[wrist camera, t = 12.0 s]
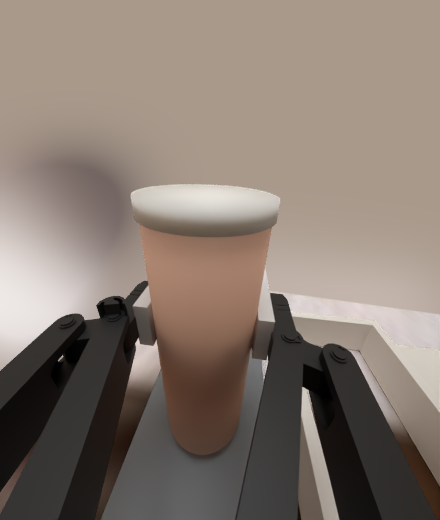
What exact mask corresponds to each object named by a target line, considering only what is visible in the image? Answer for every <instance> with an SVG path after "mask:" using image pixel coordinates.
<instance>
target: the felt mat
mask: <svg viewBox="0 0 440 520" xmlns="http://www.w3.org/2000/svg"><path fill="white" fill-rule="evenodd" d="M262 389H263V373H262V361H261V360H260V359H253V358H252V349H251V353H250V359H249V365H248V371H247V377H246V383H245V389H244V395H243V401H242V407H241V413H240V418H239V424H238V427H237V430H236V432H235V434H234V436H233V437H232V439H231V440H230V441H229V443H228V444H227V445H226V446H225V447H223V448H222V449H220V450H219V451H217V452H215V453H212V454H208V455H197V454H193V453H191V452H188V451H187V450H185V449H184V448H182V447H181V446H180V445H179V444H178V443H177V441H176V440H175V438H174V436H173V434H172V432H171V429H170V425H169V419H168V412H167V405H166V398H165V392H164V385H163V378H162V372H161V370H160V373H159V375H158V378H157V380H156V383H155V385H154V388H153V390H152V393H151V395H150V398H149V400H148V403H147V405H146V408H145V410H144V413H143V415H142V418H141V420H140V423H139V425H138V428H137V430H136V433H135V435H134V438H133V440H132V443H131V445H130V448H129V450H128V453H127V455H126V458H125V460H124V463H123V465H122V468H121V470H120V473H119V475H118V478H117V480H116V483H115V485H114V488H113V490H112V493H111V495H110V498H109V500H108V503H107V505H106V508H105V510H104V513H103V515H102V518H101V520H235V517H236V512H237V507H238V503H239V498H240V493H241V488H242V484H243V479H244V474H245V470H246V465H247V460H248V455H249V451H250V446H251V441H252V437H253V432H254V427H255V422H256V418H257V413H258V408H259V404H260V399H261V394H262Z"/></svg>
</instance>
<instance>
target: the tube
mask: <svg viewBox="0 0 440 520" xmlns="http://www.w3.org/2000/svg"><path fill="white" fill-rule="evenodd" d="M131 201H132V208H133V213H134V218H135V220H136V221H137V222H138V223H139V225H140V231H141V238H142V245H143V251H144V258H145V265H146V271H147V278H148V285H149V291H150V298H151V305H152V312H153V318H154V325H155V332H156V338H157V345H158V352H159V358H160V365H161V372H162V378H163V385H164V392H165V398H166V405H167V412H168V419H169V425H170V429H171V432H172V434H173V436H174V438H175V440H176V441H177V443H178V444H179V445H180V446H181V447H182V448H184V449H185V450H187V451H188V452H191V453H193V454H197V455H208V454H212V453H215V452H217V451H219V450H220V449H222V448H223V447H225V446H226V445H227V444H228V443H229V441H230V440H231V439H232V437H233V436H234V434H235V432H236V430H237V427H238V424H239V418H240V413H241V407H242V401H243V395H244V389H245V383H246V377H247V371H248V365H249V359H250V353H251V347H252V341H253V335H254V329H255V323H256V317H257V311H258V306H259V300H260V294H261V288H262V282H263V276H264V270H265V264H266V258H267V252H268V246H269V240H270V235H271V229H272V226H274V225H275V224H276V222H277V216H278V211H279V205H280V198H279V197H278V196H276V195H274V194H272V193H269V192H265V191H261V190H256V189H250V188H244V187H236V186H225V185H208V184H175V185H161V186H152V187H146V188H142V189H138V190H135V191H133V192H132V193H131Z"/></svg>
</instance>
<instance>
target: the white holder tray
mask: <svg viewBox="0 0 440 520" xmlns="http://www.w3.org/2000/svg"><path fill="white" fill-rule="evenodd" d="M290 312H291V314H292V318H293V321H294V324H295V328H296V331H297V332H299V333H300V334H301V336H302V337H303V339H304V340H305V341H307V342H309V343H311V344H313V345H317V346H324V345H326V344H328V343H334V344H337V345H340V346H342V347H344V348H346V349H350V350H358V351H360V353H361V354H362V356H363V358H364V360H365V361H366V363H367V365H368V366H369V368H370V370H371V371H372V373H373V375H374V376H375V378H376V380H377V381H378V383H379V385H380V387H381V388H382V390H383V392H384V393H385V395H386V397H387V398H388V400H389V402H390V403H391V405H392V407H393V408H394V410H395V412H396V414H397V415H398V417H399V419H400V420H401V422H402V424H403V425H404V427H405V429H406V430H407V432H408V434H409V436H410V437H411V439H412V441H413V442H414V444H415V446H416V447H417V449H418V451H419V452H420V454H421V456H422V457H423V459H424V461H425V463H426V464H427V466H428V468H429V469H430V471H431V473H432V474H433V476H434V478H435V479H436V481H437V483H438V484H439V486H440V350H439V349H430V348H422V347H413V346H404V345H396V344H395V343H394V342H393V340H392V339H391V338H390V337H389V336H388V334H387V333H386V332H385V331H384V329H383V328H382V327H381V326H380V324H379V323H378V322H377V321H375V320H366V319H357V318H347V317H338V316H329V315H320V314H310V313H301V312H292V311H290ZM298 503H299V509H300V516H301V520H339V516H338V512H337V508H336V504H335V499H334V495H333V491H332V487H331V483H330V478H329V474H328V470H327V467H326V463H325V459H324V455H323V451H322V448H321V444H320V440H319V436H318V432H317V429H316V425H315V421H314V417H313V413H312V410H311V406H310V402H309V398H308V394H307V391H306V388H304V387H302V409H301V436H300V462H299V488H298Z"/></svg>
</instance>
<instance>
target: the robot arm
mask: <svg viewBox="0 0 440 520" xmlns="http://www.w3.org/2000/svg"><path fill="white" fill-rule="evenodd" d="M96 306H97V309H98V312H99V315H100V318H99V319H93V320H84V317H83V316H82V315H80V314H69V315H66V316H64V317H61V318H60V319H58V320H57V321H55V322H54V323H53V324H52V325H51V326H50V327H48V328H47V329H46V330H45V331H44V332H43V333H42V334H41V335H40V336H38V337H37V338H36V339H35V340H34V341H33V342H32V343H31V344H30V345H28V346H27V347H26V348H25V349H24V350H23V351H22V352H21V353H20V354H18V355H17V356H16V357H15V358H14V359H13V360H12V361H11V362H10V363H9V364H7V365H6V366H5V367H4V368H3V369H2V370H1V371H0V492H1V490H2V489H3V487H4V486H5V485H6V483H7V482H8V480H9V479H10V478H11V476H12V475H13V473H14V472H15V471H16V469H17V468H18V466H19V465H20V463H21V462H22V461H23V459H24V458H25V456H26V455H27V454H28V452H29V451H30V449H31V448H32V447H33V445H34V444H35V442H36V441H37V439H38V438H39V437H40V438H39V440H38V442H37V444H36V446H35V448H34V449H33V451H32V453H31V455H30V457H29V459H28V461H27V463H26V465H25V467H24V469H23V471H22V473H21V475H20V477H19V479H18V481H17V483H16V485H15V487H14V489H13V491H12V493H11V495H10V497H9V499H8V501H7V503H6V505H5V507H4V509H3V510H2V512H1V514H0V520H95V516H96V512H97V508H98V504H99V500H100V495H101V491H102V487H103V483H104V479H105V475H106V471H107V467H108V462H109V458H110V454H111V450H112V446H113V442H114V438H115V434H116V429H117V425H118V421H119V417H120V413H121V409H122V405H123V401H124V396H125V392H126V388H127V384H128V380H129V376H130V372H131V368H132V363H133V359H134V355H135V351H136V346H135V343H136V341H137V339H138V338H139V340H140V344H144V345H151V346H153V345H154V343H155V341H156V339H157V338H156V332H155V325H154V318H153V312H152V305H151V298H150V291H149V285H148V281H143V282H141V283H140V284H138V285H137V286H136V287H135V288H134V290H133V291H132V292H131V293H130V295H129V296H128V297H127V298H126V299H124V298H123V297H120V296H112V297H108V298H105V299H103V300H102V301H100V302H99V303H98V304H97V305H96ZM62 355H63V356H64V357H63V358H62V359H61V360H60V361H59V362H58V360H59V358H60V357H61V356H62ZM267 355H268V361H269V362H268V366H267V370H266V375H265V380H264V385H263V389H262V394H261V399H260V404H259V408H258V413H257V418H256V422H255V427H254V432H253V437H252V441H251V446H250V451H249V455H248V460H247V465H246V470H245V474H244V479H243V484H242V488H241V493H240V498H239V503H238V507H237V512H236V517H235V520H297V514H298V488H299V462H300V436H301V409H302V387H304V388H306V389H308V390H309V394H310V398H311V402H312V407H313V411H314V415H315V419H316V423H317V428H318V432H319V436H320V440H321V445H322V449H323V453H324V457H325V461H326V466H327V470H328V474H329V478H330V483H331V487H332V491H333V495H334V499H335V504H336V508H337V512H338V516H339V520H437V519H436V517H435V515H434V513H433V511H432V509H431V507H430V505H429V503H428V501H427V499H426V497H425V495H424V493H423V491H422V489H421V488H420V486H419V484H418V482H417V480H416V478H415V476H414V474H413V472H412V470H411V468H410V466H409V464H408V462H407V460H406V458H405V456H404V454H403V452H402V450H401V448H400V446H399V444H398V442H397V440H396V438H395V436H394V434H393V432H392V430H391V428H390V426H389V424H388V422H387V420H386V418H385V417H384V415H383V413H382V411H381V409H380V407H379V405H378V403H377V401H376V399H375V397H374V395H373V393H372V391H371V389H370V387H369V385H368V383H367V381H366V379H365V377H364V375H363V373H362V371H361V369H360V367H359V365H358V363H357V361H356V359H355V358H354V356H353V355H352V353H351V352H349V351H348V350H347V349H346V348H344V347H342V346H340V345H337V344H334V343H328V344H326V345H324V347H323V348H321V347H318V346H316V345H313V344H311V343H309V342H307V341H305V340H304V339H303V337H302V336H301V334H300V333H299V332H297V331H296V328H295V324H294V321H293V318H292V314H291V312H290V307H289V304H288V301H287V299H286V298H285V297H284V296H283V294H274V293H270V292H269V286H268V281H267V275H266V270H264V276H263V282H262V288H261V294H260V300H259V306H258V311H257V317H256V323H255V329H254V335H253V341H252V358H253V359H260V360H266V359H267ZM40 435H41V436H40Z"/></svg>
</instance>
